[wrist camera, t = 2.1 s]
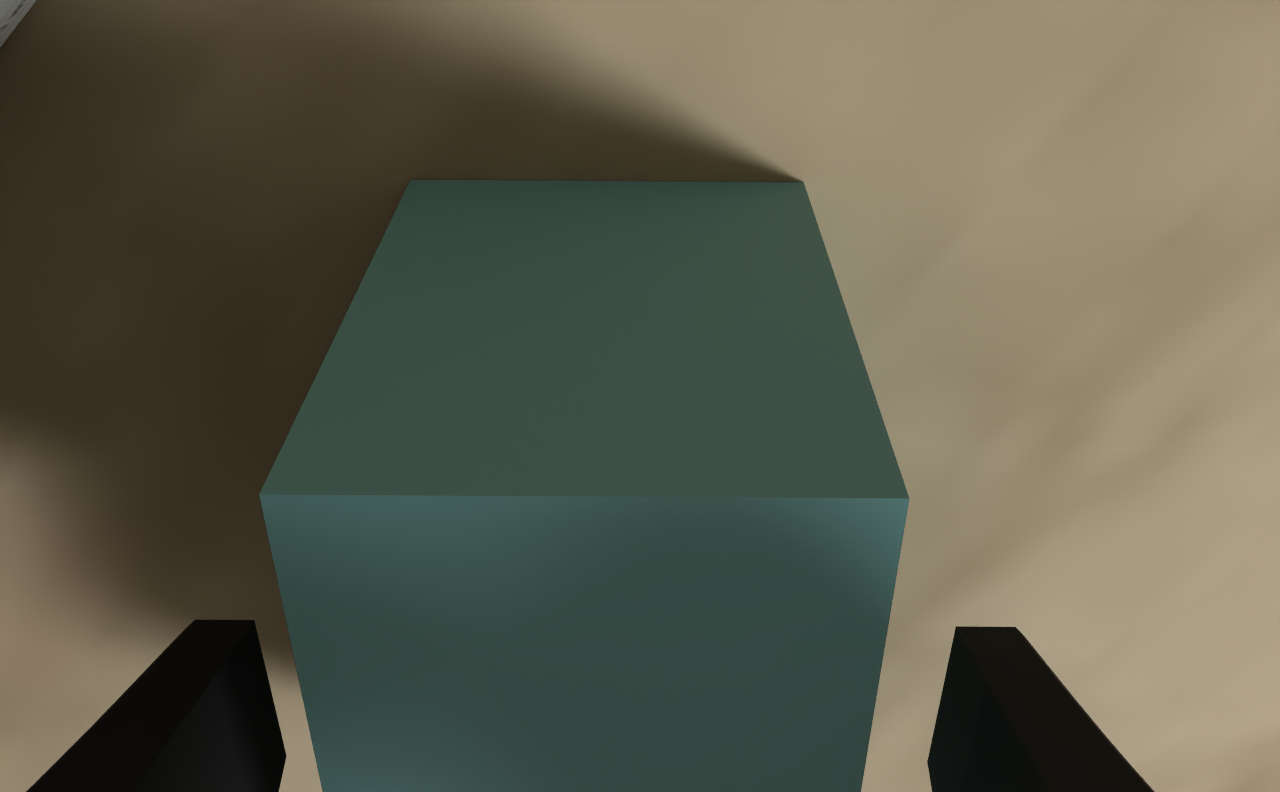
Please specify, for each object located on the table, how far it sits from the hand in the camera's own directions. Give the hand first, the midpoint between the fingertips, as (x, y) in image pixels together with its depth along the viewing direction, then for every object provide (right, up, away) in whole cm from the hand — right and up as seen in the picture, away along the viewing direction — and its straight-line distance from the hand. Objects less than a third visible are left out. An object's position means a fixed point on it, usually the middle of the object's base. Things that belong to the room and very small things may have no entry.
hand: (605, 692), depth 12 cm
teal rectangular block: (0, +2, +3) cm, 4 cm away
